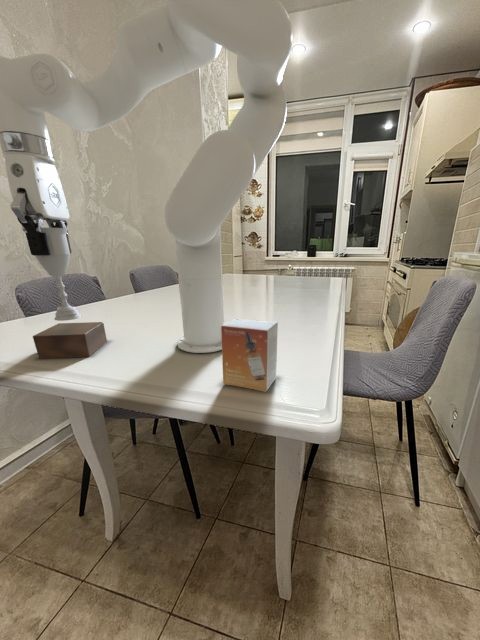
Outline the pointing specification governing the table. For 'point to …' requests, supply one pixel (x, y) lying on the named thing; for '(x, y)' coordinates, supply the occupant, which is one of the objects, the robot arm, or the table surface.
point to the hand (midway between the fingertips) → (52, 253)
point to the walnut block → (70, 340)
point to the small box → (249, 353)
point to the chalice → (58, 268)
